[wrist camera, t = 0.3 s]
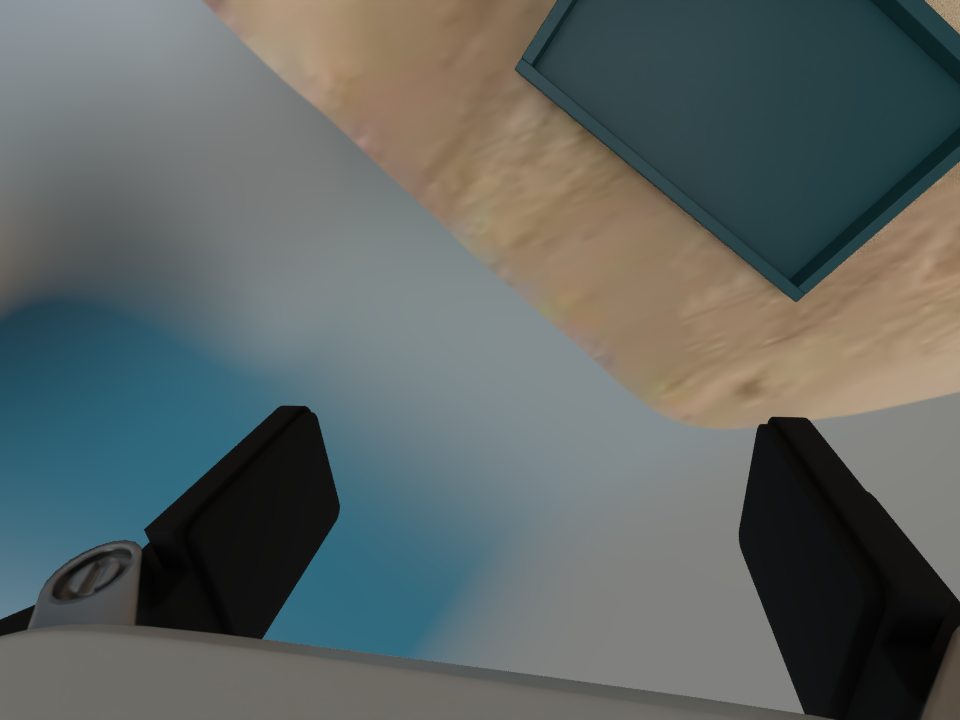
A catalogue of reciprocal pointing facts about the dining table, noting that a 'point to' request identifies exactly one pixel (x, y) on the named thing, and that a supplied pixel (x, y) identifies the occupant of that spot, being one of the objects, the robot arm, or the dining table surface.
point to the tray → (764, 113)
